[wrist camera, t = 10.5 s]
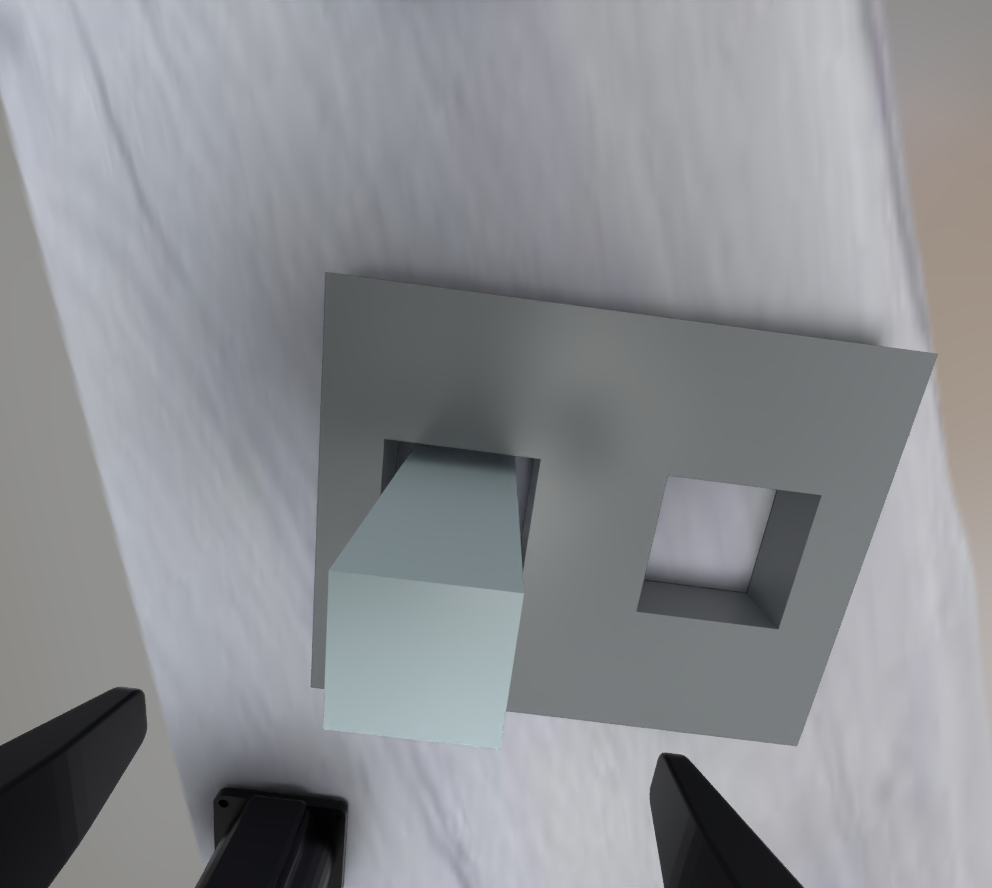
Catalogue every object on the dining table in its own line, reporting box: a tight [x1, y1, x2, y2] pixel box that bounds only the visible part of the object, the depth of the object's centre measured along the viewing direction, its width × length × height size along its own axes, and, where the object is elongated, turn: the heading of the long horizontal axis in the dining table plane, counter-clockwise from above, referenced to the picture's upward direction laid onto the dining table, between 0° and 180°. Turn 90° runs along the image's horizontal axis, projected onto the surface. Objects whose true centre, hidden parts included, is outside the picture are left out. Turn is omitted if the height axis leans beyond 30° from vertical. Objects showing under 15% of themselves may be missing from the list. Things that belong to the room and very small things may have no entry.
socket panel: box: [311, 272, 938, 746], centre depth 19 cm, size 16×20×3 cm
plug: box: [323, 444, 524, 750], centre depth 15 cm, size 4×4×10 cm
